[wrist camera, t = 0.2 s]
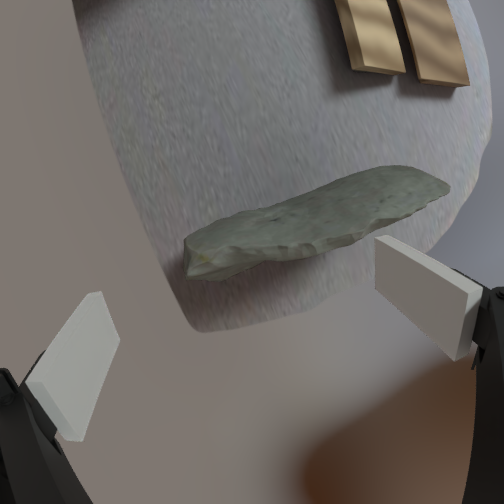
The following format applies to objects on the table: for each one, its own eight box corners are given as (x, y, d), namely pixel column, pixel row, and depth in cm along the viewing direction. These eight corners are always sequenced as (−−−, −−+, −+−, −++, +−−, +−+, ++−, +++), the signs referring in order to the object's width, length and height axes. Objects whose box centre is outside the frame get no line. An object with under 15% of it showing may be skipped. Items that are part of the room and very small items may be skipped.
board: (377, -22, 31) (388, -31, 28) (428, -9, 32) (440, -15, 28) (407, 82, 37) (421, 78, 34) (456, 87, 38) (470, 85, 35)
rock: (202, 259, 42) (198, 342, 23) (184, 217, 40) (160, 273, 21) (375, 189, 42) (472, 218, 23) (363, 148, 40) (462, 153, 21)
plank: (317, -26, 31) (328, -41, 26) (370, -19, 31) (384, -32, 27) (344, 73, 36) (359, 65, 32) (397, 75, 37) (416, 69, 32)
